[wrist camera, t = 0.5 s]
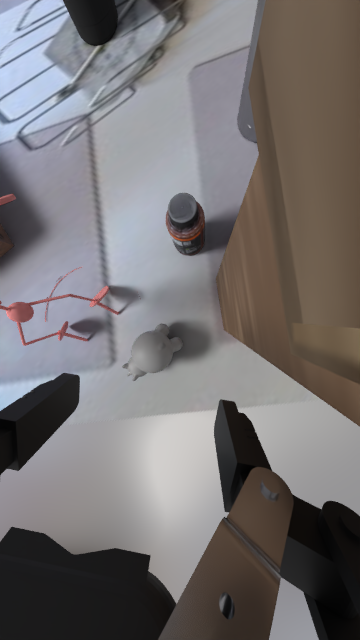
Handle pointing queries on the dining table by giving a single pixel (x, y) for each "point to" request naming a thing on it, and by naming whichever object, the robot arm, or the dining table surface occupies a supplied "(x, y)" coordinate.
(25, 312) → the figurine
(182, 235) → the supplement bottle
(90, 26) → the pen holder
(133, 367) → the toy rhinoceros
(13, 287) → the dining table surface
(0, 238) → the tissue box cover
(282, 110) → the brown wooden bar
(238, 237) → the stand
